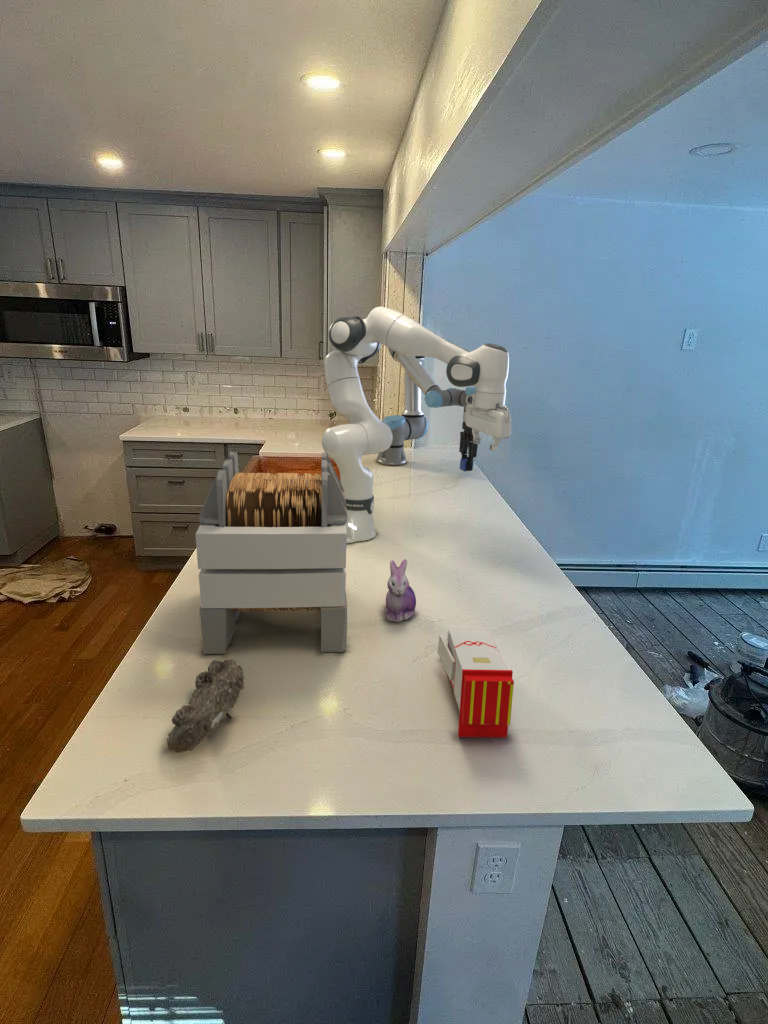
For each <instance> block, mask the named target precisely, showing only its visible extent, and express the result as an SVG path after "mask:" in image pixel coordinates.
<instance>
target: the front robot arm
mask: <svg viewBox="0 0 768 1024" xmlns="http://www.w3.org/2000/svg"><path fill="white" fill-rule="evenodd" d="M328 340H329V342H330V344H331V345H332V347H334V348H335V350H332V351H330V352H329V353H327V354H326V356H325V357H324V361H323V362H324V363H323V364H324V366H323V367H324V376H325V381H326V382H325V383H326V387H327V390H328V394H329V398H330V402H331V406H332V408H333V410H334V411H335V413H337V415H341V417H344V418H345V419H346V420H347V421H348V423H344V424H343V423H342V424H337V425H335V426H332V427H329V428H327V429H325V431H324V432H323V435H322V437H321V447H322V450H323V452H324V453H327V454H328V457H329V459H332V461H333V462H334V463H335V465H336V466H337V470H338V472H339V480H340V482H341V484H342V487H343V489H344V491H345V499H346V506H347V514H348V519H347V523H345V524H346V532H347V541H346V544H352V543H357V542H365V541H368V540H372V539H373V538H375V537H376V535H377V532H376V528H375V523H374V513H373V512H374V509H375V496H374V474H373V472H372V471H371V469H369V468H368V467H366V466H364V465H363V463H362V457H364V456H370V455H371V456H372V455H378V453H380V452H383V451H385V450H387V449H388V448H389V447H390V446H391V444H392V439H393V435H392V431H391V429H390V427H389V426H388V425H387V424H386V423H384V422H382V420H381V419H380V418H379V417H377V415H376V414H375V412H373V410H372V409H371V407H370V406H369V403H368V401H367V399H366V395H365V393H364V389H363V386H362V381H361V377H360V374H359V370H358V364H362V365H363V364H364V363H366V361H368V360H369V359H371V358H373V357H375V356H376V355H377V354H378V353H379V351H380V349H381V348H382V345H383V346H385V347H387V349H388V348H390V349H391V350H393V351H395V352H398V353H400V354H403V355H407V356H425V358H427V357H428V358H433V359H436V360H439V361H441V362H443V363H445V364H446V369H445V373H446V378H447V380H448V382H449V383H450V384H451V385H453V386H455V387H458V388H467V387H476V393H475V394H473V395H470V396H467V397H466V403H467V406H466V412H465V423H466V426H468V427H470V428H472V434H473V438H474V439H473V443H475V444H478V445H480V444H481V443H482V442H481V441H482V438H481V437H480V436H481V435H480V432H481V433H483V434H485V435H487V436H488V435H489V436H491V437H492V443H491V444H489V451H491V452H497V451H498V448H499V444H500V443H501V442H502V440H504V439H509V438H510V436H511V434H512V416H511V412H510V410H509V407H508V406H506V396H507V388H506V386H507V385H506V384H507V380H508V378H509V368H510V355H509V354H510V353H509V351H508V349H507V348H506V347H504V346H502V345H500V344H495V343H483V344H482V345H481V346H479V347H477V348H475V349H473V350H467V349H465V348H463V347H461V346H459V345H457V344H455V343H452V342H451V341H449V340H447V339H445V338H443V337H441V336H439V335H437V334H435V333H434V332H432V331H431V330H429V329H428V328H427V327H424V326H423V325H422V324H420V322H418V321H416V320H414V319H412V318H411V317H409V316H407V315H406V314H404V313H402V312H400V311H398V310H395V309H392V308H389V307H386V306H376V307H374V308H372V309H371V311H369V313H368V314H367V317H365V318H362V317H361V316H360V315H355V316H342V317H338V318H337V319H335V320H333V322H332V323H331V324H330V326H329V328H328Z"/></svg>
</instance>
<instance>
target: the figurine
mask: <svg viewBox="0 0 768 1024" xmlns="http://www.w3.org/2000/svg"><path fill="white" fill-rule="evenodd" d="M407 567H408V559H406V558H404V559H403V560H402V561H401V563H400V565H399V566H398V565H397V563H396V562H395V561H394V560H393V559H391V560H390V561H389V570H390V576H389V578H388V579H387V589H388V591H387V592H386V594H385V595H386V596H385V607H384V615H385V616H386V620H387V621H391V622H395V623H400V622H402V621H406V620H409V619H410V618H411V617H413V616H414V615H415V610H416V606H417V597H416V593H415V591H414V590H413V587H411V586H410V582H409V579H408V577H407V574H406V571H407Z"/></svg>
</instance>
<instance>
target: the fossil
mask: <svg viewBox="0 0 768 1024" xmlns="http://www.w3.org/2000/svg"><path fill="white" fill-rule="evenodd" d="M243 670H244V669H243V667H242V665H240V664H237V662H236V661H235V660H234V659H232V658H231V659H227V658H226V659H224V660H223V661H222V660H217V659H212V660H211V661H210V663H209V665H208V666H207V671H201V672H199V673H198V674H197V675H196V676H195V680H194V684H195V685H194V687H195V689H194V690H193V693H192V694H191V697H190V698H189V700H188V704H184V705H182V706H181V707H180V709H177V710H176V711H175V713H174V715H173V716H172V718H171V723H172V724H173V727H172V730H171V731H170V732H168V734H167V738H166V741H167V742H166V745H167V749H168V750H169V751H173V752H174V753H176V754H178V753H182V752H188V751H189V752H192V751H193V750H195V748H196V747H197V746H199V744H200V743H201V742H203V741H204V740H205V739H206V738H207V737H208V736H209V735H210V734H211V733H212V732H214V730H215V729H217V727H218V726H219V724H220V722H221V721H222V720H223V719H224V718H225V716H226V717H227V719H229V720H233V717H232V715H230V714H229V710H230V709H231V708H234V706H235V704H236V703H237V702H238V699H239V697H240V695H241V693H242V691H243V690H245V689H244V688H245V675H244V671H243Z"/></svg>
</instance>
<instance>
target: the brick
mask: <svg viewBox="0 0 768 1024" xmlns="http://www.w3.org/2000/svg"><path fill="white" fill-rule="evenodd" d="M466 466H467V459H461V458H460V460H459V470H461V471H462V472H467V471H466ZM473 469H474V463H473V464H472V471H473ZM472 471H471V472H472Z"/></svg>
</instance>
